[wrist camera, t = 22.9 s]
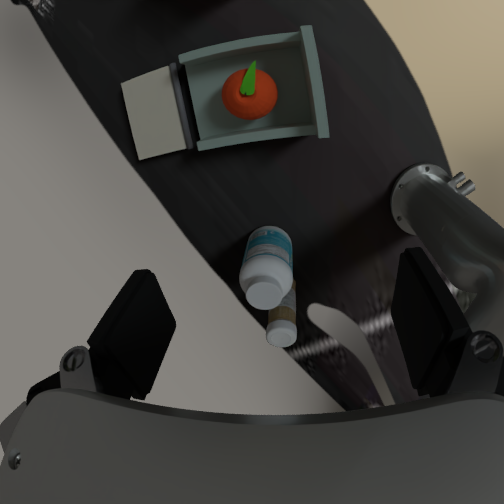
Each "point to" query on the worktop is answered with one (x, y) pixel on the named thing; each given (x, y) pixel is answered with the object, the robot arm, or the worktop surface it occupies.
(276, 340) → the sprinkles bottle
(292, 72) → the grey-green open bin
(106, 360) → the robot arm
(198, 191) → the worktop surface
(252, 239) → the pill bottle
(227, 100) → the clementine
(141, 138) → the panel
